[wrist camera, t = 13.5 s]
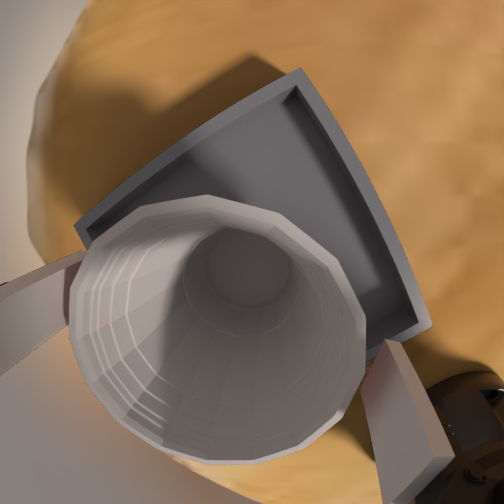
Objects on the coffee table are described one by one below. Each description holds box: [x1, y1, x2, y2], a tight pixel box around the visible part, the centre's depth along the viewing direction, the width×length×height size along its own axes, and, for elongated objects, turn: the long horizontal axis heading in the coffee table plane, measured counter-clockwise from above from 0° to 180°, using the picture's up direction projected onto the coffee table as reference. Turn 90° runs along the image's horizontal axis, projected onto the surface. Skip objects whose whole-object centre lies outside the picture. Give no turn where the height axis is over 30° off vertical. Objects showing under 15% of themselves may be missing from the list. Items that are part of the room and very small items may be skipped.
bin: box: [74, 67, 433, 361], centre depth 20 cm, size 18×18×4 cm
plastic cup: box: [69, 194, 366, 465], centre depth 15 cm, size 11×11×12 cm
